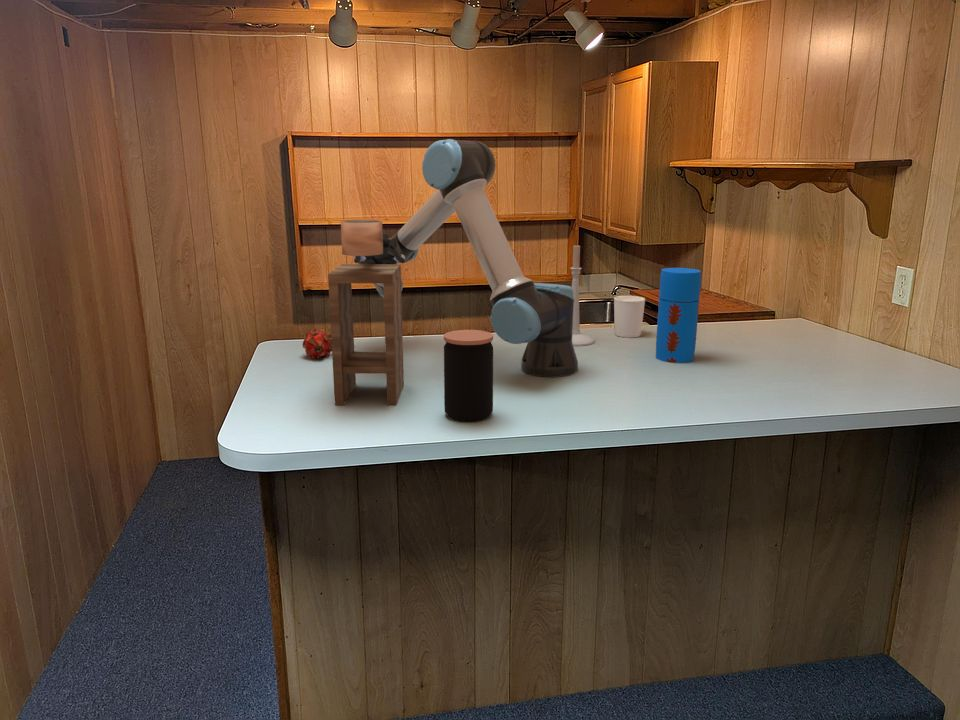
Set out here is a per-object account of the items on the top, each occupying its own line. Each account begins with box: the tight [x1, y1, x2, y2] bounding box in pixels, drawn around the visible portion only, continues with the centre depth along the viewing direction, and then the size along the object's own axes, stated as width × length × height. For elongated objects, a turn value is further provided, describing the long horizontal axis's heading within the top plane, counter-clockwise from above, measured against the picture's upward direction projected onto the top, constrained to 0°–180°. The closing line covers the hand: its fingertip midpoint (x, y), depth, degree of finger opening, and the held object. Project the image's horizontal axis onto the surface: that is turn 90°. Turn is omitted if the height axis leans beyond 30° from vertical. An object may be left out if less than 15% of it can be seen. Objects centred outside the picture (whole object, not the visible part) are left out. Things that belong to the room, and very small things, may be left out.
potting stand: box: [327, 263, 405, 406], centre depth 169 cm, size 16×14×30 cm
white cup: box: [613, 295, 646, 339], centre depth 232 cm, size 10×10×12 cm
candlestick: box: [569, 245, 595, 347], centre depth 221 cm, size 13×13×30 cm
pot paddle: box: [340, 219, 384, 257], centre depth 168 cm, size 26×9×7 cm, turn 0°
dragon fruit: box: [302, 328, 332, 360], centre depth 206 cm, size 8×8×12 cm
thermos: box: [655, 267, 702, 364], centre depth 202 cm, size 11×11×25 cm
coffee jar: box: [443, 329, 494, 423], centre depth 156 cm, size 11×11×18 cm
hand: (369, 230), depth 170 cm, fingers closed on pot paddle, 3 cm apart
